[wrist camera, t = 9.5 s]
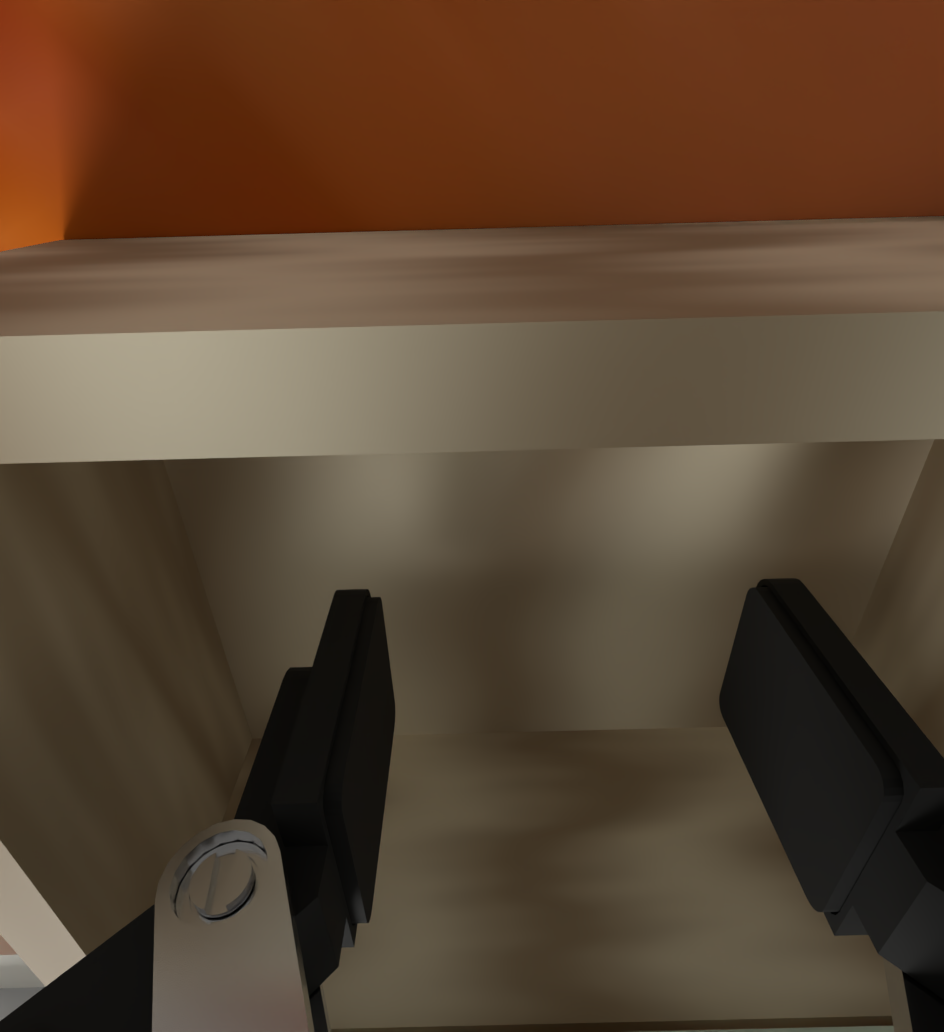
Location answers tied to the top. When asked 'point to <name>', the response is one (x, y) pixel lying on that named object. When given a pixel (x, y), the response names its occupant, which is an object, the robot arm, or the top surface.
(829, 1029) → the lid
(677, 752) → the birch box
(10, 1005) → the grey block
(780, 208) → the top surface
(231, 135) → the top surface
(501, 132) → the top surface
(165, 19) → the top surface
